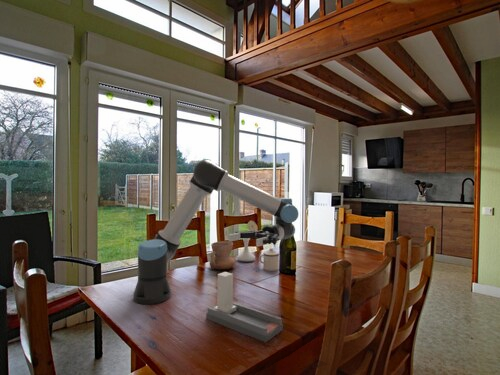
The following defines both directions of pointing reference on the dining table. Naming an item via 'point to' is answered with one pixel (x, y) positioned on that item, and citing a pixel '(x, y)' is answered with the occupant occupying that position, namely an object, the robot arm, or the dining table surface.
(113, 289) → the dining table surface
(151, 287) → the robot arm
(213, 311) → the switch base
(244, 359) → the dining table surface
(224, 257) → the ceramic jug
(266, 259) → the beige enamel mug
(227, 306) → the switch lever
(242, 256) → the flower in vase
